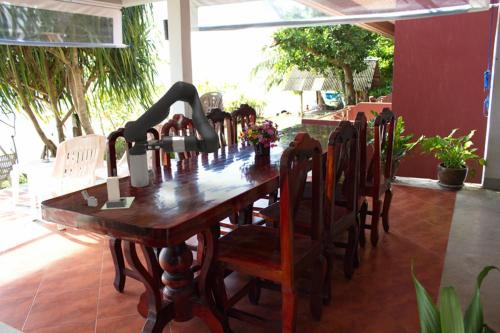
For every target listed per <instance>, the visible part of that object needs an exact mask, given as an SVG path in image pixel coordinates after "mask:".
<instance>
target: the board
mask: <svg viewBox="0 0 500 333" xmlns="http://www.w3.org/2000/svg"><path fill="white" fill-rule="evenodd" d="M134 200H135V196H127V197H120V202H109V199H107V201H106V202H105V203H104V205H103V206H102V207H101V210H113V209H114V210H117V209H129V208H130V207H131V205H132V203H133V202H134Z"/></svg>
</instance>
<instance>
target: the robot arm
mask: <svg viewBox="0 0 500 333" xmlns="http://www.w3.org/2000/svg"><path fill="white" fill-rule="evenodd" d="M197 89H198V88H196V86H195V84H192V83H190V82H186V81H181V80H178V81H176V82H174V83H173V84H172V85H171V87H169V89H168V90H167V91H166V92H165V94H164V95H163V96H161V98H159V100H157V101H156V102H155V103H153V104H152V106H150V107H149V108H148V109H147V110H145V112H144V113H142V115H140V116H139V117H138V118H137V119H136V120H134V121H132V122H131V123H130V124H128V125H127V126H126V127H125V128H124V129H123V138H124V140H125V141H127V142H128V143H134V144H133V145H132V147H131V148H129V149H128V158H129V159H128V160H129V171H130V172H129V173H130V184H131V187H133V188H141V187H142V188H143V187H147V186H149V185H150V182H149V181H150V178H149V166H148V164H149V163H148V153H147V152H149V151H160V150H161V149H163V152H164V154H173V153H174V154H175V153H184V152H198V153H202V154H215V153H217V152H218V151H219V149H220V137H219V134H218V132H217V130H216V129H215V128H214V127H213V125H212V124H211V122H210V120H209V119H208V117H207V115H206V113H205V110H204V108H203V105H202V102H201V99H200V95H199V92H198V90H197ZM176 102H184V103H187V104H188V105H189V106H190V108H191V111H192V112H191V121H192V124H193V126H194V128H195V130H196V132H197V134H198V135H199V136H201V137H202V139H200V138H198V137H197V136H196V135H164V136H163V137H162V139H150V140H149V139H148V132H147V130H150V129H152V128H155V127H156V126H158V125H160V124H161V123H163V121H165V120H166V119H167V118H168V117H169V115H170V112H171V106H173V105H174V104H175V103H176Z"/></svg>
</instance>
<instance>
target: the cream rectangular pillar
mask: <svg viewBox="0 0 500 333" xmlns="http://www.w3.org/2000/svg"><path fill="white" fill-rule="evenodd" d="M112 169H113V172H112V173H113V176H110V177H109V176H108V177H106V187H107V188H106V189H107V197H108V199H107V200H109V202H120V198H121V195H120V182H119V176H117V172H116V168H112Z"/></svg>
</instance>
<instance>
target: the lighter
mask: <svg viewBox="0 0 500 333" xmlns="http://www.w3.org/2000/svg"><path fill="white" fill-rule="evenodd" d="M81 195H82V197H83V198H84V200H85V201H87V206H88V207H98V204H99V203H98V198H95V196H89V193H88V192H87V190H86V189H85V190H82V191H81Z"/></svg>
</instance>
